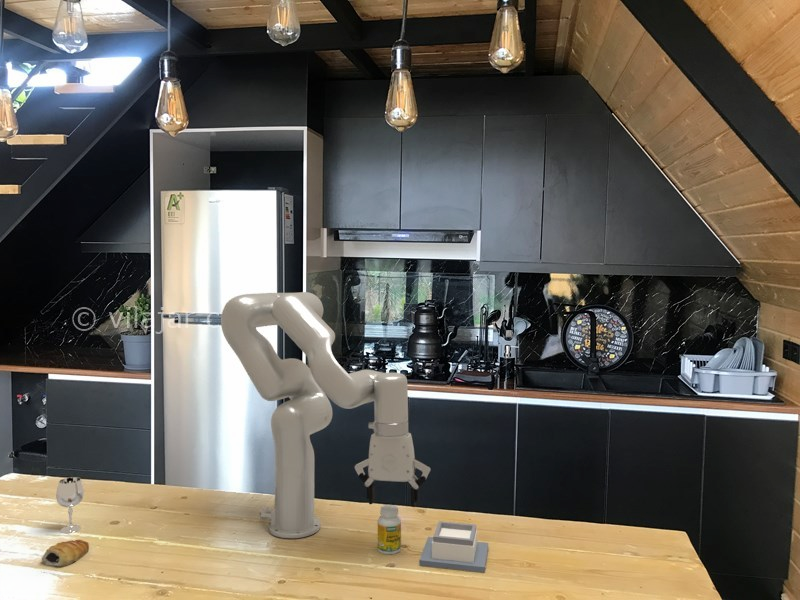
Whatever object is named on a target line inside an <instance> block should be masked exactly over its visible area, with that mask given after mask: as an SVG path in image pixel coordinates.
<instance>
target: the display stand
mask: <svg viewBox="0 0 800 600" xmlns="http://www.w3.org/2000/svg"><path fill="white" fill-rule="evenodd" d="M425 541H426V542H425V544H424V546H423V550H422V552H421V554H420V557H419V562H418V564H419V565H418V566H420V567H428V568H429V567H430V568H437V569H447V570H455V569H457V570H458V571H464V570H465V571H466V572H473V571H475V572H476V573H482V574H483V573H485V572H486V567H485V566H487V559H488V552H489V542H485V541H478V529H477V524H473V523H462V522H455V521H454V522H451V521H440V520H439V521H438V522H437V525H436V528H435V530H434V534H433V536H428V537H427V539H426V540H425ZM457 570H456V571H457Z"/></svg>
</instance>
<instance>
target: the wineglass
mask: <svg viewBox="0 0 800 600" xmlns="http://www.w3.org/2000/svg"><path fill="white" fill-rule="evenodd" d="M83 498H84V485H83V483H82V479H81V478H80V477H79V476H78V477H73V476H70V477H65V478H62V479H60V480H59V481H58V484H57V488H56V502H57V503H58V505H59V506H61V507H64V508H67V512H68V513H67V514H68V519H69V522H68V525H67V526H64V527H62V528H61V529H60V530H59V531H60V533H61V534H71V533H77V532H78V531H80V530H81V529H82V527H81V526H80V525H77V524H73V522H72V517H73V511H74V510H73V507H75V506H77V505H78V504H80V503H81V502H82V501H83Z"/></svg>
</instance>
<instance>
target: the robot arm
mask: <svg viewBox="0 0 800 600" xmlns="http://www.w3.org/2000/svg"><path fill="white" fill-rule="evenodd" d="M323 314H324V306H323V303H322V300H320V298H319V297H318V296H317V295H316V294H314V293H312V292H308V291H304V292H303V291H301V292H263V293H262V292H261V293H245V294H240V295H237V296H234V297H232V298H230V300H227V302H226V303H225V304H224V306H223V309H222V312H221V317H220V324H221V332H222V333H223V336H224V338H225V340H226V342H227V344H228V346H229V347H230V348H231V349H232V351H233V352H234V354H235V355H236V356H237V358H238V359H239V361H240V363H241V365H242V367H243V369H244V371H245V372H246V373H247V375H248V377H249V379H250V381H251V382H252V385H253V386H254V387H255V389H256V391H257V392H258V394H259V396H260V397H261V398H262V399H263V400H265V401H267V402H276V401H280V400H284V399H286V398H288V399H289V400H287V401H284V402H282V403H280V405H278V406H277V407H276V408H275V409H274V410H273V413H272V415H271V419H270V428H271V434H272V438H273V445H274V446H273V447H274V507H273V508H270V507H266V506H265V507H264V506H261V508H260V509H259V515H260V519H262V520H264V519H265V520H267V519H268V520H269V523H268V525H267V529H268V532H269V533H270V534H271V535H273V536H275V537H278V538H281V539H299V538H305V537H309V536H312V535H313V534H315V533H317V532H318V531H319V530H321V525H322V524H321V520H320V519H319V518H318V517H317V516H315V450H314V447H313V444H312V442H311V438H310V435H312V434H315V433H317V432H319V431H320V432H321V430H323V429H325V428H327V426H329V425H330V423H331V422H332V419H333V407H332V404H331V402H333V403H334V404H335V405H337V406H338V407H340V408H342V409H348V410H349V409H355V408H357V407H360V406H362V405H365V404H369V403H372V402H374V405H373V406H374V407H373V408H374V409H373V410H374V421H372V422H368V429H371V430H373V433H372V434H371V436H370V440H369V450H368V458H367V459H364V460H363V461H361V462H358V463H356V464H355V465H354V469H355V472H356V473H357V475H358V478H359V479H360V481H362V482H363V484H364V486H365V487H366V499H367V500H368V504H369V505H373V504H374V503H375V500H376V483H375V481H378V482H379V481H380V482H400V483H401V482H402V483H406V482H408V483H409V484H410V485H411V489H410V506H411V507H413V508H414V507H415V506H416V504H417V503H419V501H420V487H421V485H423V484H424V483H425V481H426V480H427V478H428V477H429V476H428V475H429V474H430V472H431V467H430V466H427V464H425V463H423V462H421V461H419V460H417V459H416V457H415V448H414V443H413V437H412V433H411V432H409V405H408V403H409V401H408V400H409V399H408V398H409V397H408V396H409V395H408V394H409V393H408V392H409V391H408V389H409V388H408V379H407V376H406V375H405V374H403V373H402V372H382V371H377V370H373V369H361V370H358V371H353V372H350V373H348V372H347V370H345V368H343V367H342V366H341V364H339V362H338V361H337V360H336V358H335V355H334V354H333V351H332V345H333V343H334V342H335V340H336V333H335V331H334V330H333V329H332V328H331V327H330V326H329V325H328V324H327V323H326V322H325V320H324V319H323V316H324V315H323ZM269 326H271V327H272V326H279V327H280V328H281V329H282V331H284V332H285V334H287V336H288V337H289V338H290V339H291V340H292V341H293V342H294V343H295V345H296V346H297V348H298V349H300V350H301V351H302V352H303V353H304V354H305V356H306V357H307V360H308V361H307V362H308V364H306V363H305V362H304V361H302V360H300V359H299V358H295V357H294V358H290V357H289V358H284V359H281V358H280V357H279V354H277V352H276V350H275V349H274V346H273V345H272V343H271V342H270V341H269V340H268V338H266V337H265V336H264V335H263V334H262V333H260V332H259V331H258V330H257V328H260V327H261V328H262V327H269ZM329 399H330V400H329ZM330 401H331V402H330ZM366 467H367V469H368V470H367V472H368V474H367V473H366V472H365V471H364V468H366ZM417 469H418V470H419V471H421V472H422V474H421V476H420V477H419V478H418V477H417V475H415V474H416V470H417Z"/></svg>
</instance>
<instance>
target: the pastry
mask: <svg viewBox="0 0 800 600" xmlns="http://www.w3.org/2000/svg"><path fill="white" fill-rule="evenodd" d="M89 549H90V544H89V542H88V541H85V540H83V539H75V540H66V541H60V542H57V543H56V544H54V545H52V546H49V548H48V549H46V551H45V552H44V554H43V556H42V557H41V561H42V562H43V564H44V565H45V566H50V567H53V566H54V567H60V568H61V567H66V566H67V567H68V566H69V565H72V564H73V563H74V562H77V561H79V560H80V559H82V558H83V557H84V556H85V555H86V554H88V552H89Z"/></svg>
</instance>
